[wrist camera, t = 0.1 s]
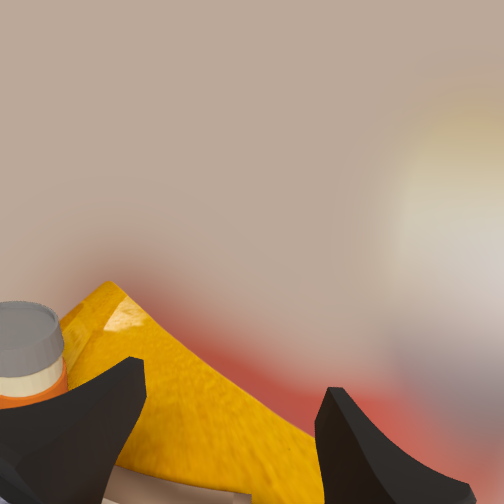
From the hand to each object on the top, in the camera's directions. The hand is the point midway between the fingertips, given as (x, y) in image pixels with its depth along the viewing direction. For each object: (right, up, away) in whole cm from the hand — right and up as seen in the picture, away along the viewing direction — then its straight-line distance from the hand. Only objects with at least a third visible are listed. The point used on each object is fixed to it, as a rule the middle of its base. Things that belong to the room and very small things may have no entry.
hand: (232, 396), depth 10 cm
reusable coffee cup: (-26, -17, +14) cm, 34 cm away
